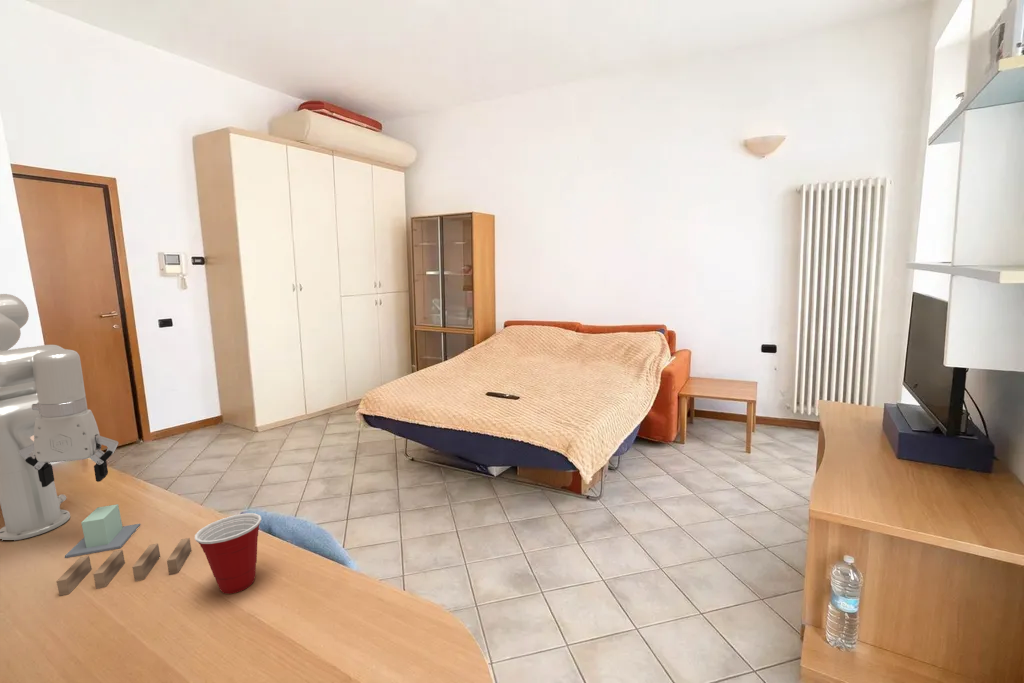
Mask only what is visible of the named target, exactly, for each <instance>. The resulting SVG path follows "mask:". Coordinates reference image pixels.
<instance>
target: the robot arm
mask: <svg viewBox="0 0 1024 683" xmlns="http://www.w3.org/2000/svg"><path fill="white" fill-rule="evenodd" d="M28 309H29V308H28V307H27V305H26V303H25V302H24V300H22V299H20V298H19V297H18V296H15V295H13V294H7V293H0V510H1V513H2V517H3V518H2V519H3V520H4V526H3V527H1V528H0V539H2V540H1V541H3V540H14V541H19V540H23V539H29V538H32V537H36V536H39V535H42V534H45V533H47V532H48V533H49V531H52V530H54V529H57V528H58V527H61V526H62V525H64V524H65V523H66V522H68V521H69V519H70V518H71V513H70V511H68V510H66V509H61V507H60V506H61V504H62V503H64V501H66V500H67V496H66V495H65V494H64V493H63V494H61V493H60V494H59V495H58V493H57V489H56V484H55V474H54V469H53V465H52V464H51V463H58V462H59V463H60V462H70V461H73V462H74V461H80V460H81V461H83V460H87V459H90V460H91V461H92V462H94V463H95V464H94V465H93V471H94V477H95V481H96V482H97V483H99V482H102V481H103V480H104V479H105V478H106V477H107V475H108V473H109V470H108V463H107V460H109V458H110V457H111V456H112V455H114V453H115V452H116V449H117V447H118V445H119V441H118V440H114V439H111V438H108V437H106V436H102V435H100V434H101V433H100V431H99V427H98V423H97V421H96V418H95V416H94V413H93V411H92V410H91V409H88V403H87V402H88V401H87V397H86V390H85V389H86V388H85V383H84V376H83V369H82V361H81V357H80V354H79V353H78V352H77V351H76V350H73V349H67V348H63V347H62V346H60V345H58V344H43V345H36V346H26V347H19V348H14V349H11V348H13V347H14V346H15V345H16V344H17V343H18V342H19V340H20V338H21V329H22V328H23V327H24V326H25V325H26V324H27V322H28V320H29V315H30V314H29V310H28ZM31 437H33V440H32V438H31ZM102 446H105V447H107V449H106V451H105V452H104V451H103V450H102Z"/></svg>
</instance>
